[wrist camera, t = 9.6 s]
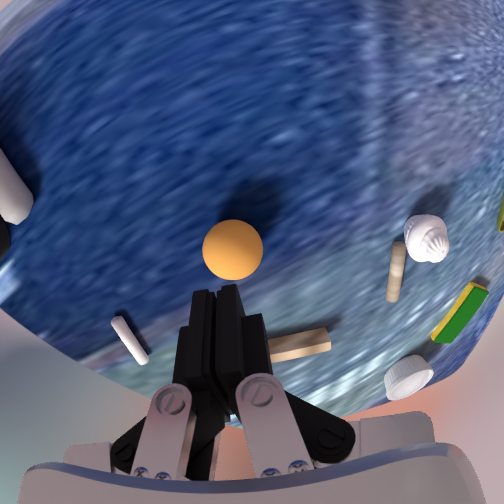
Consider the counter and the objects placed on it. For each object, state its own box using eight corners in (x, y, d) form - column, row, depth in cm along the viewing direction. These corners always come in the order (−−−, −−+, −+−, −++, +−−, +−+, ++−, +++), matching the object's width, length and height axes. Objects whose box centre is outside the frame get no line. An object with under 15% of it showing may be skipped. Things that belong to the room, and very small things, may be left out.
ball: (265, 290, 27) (266, 249, 32) (257, 244, 23) (260, 205, 28) (206, 293, 28) (214, 253, 33) (189, 249, 24) (202, 210, 29)
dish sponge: (483, 285, 41) (489, 292, 38) (446, 336, 47) (451, 343, 45) (468, 279, 39) (475, 287, 37) (428, 334, 45) (433, 343, 43)
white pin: (108, 324, 34) (136, 363, 39) (117, 326, 34) (145, 365, 38) (115, 314, 36) (141, 354, 41) (125, 316, 35) (151, 356, 40)
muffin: (386, 239, 32) (414, 271, 26) (408, 197, 30) (441, 222, 24) (416, 251, 34) (443, 280, 28) (437, 213, 31) (469, 238, 25)
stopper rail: (325, 326, 39) (330, 341, 37) (325, 335, 40) (330, 349, 38) (206, 349, 40) (206, 365, 37) (210, 357, 41) (210, 372, 38)
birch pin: (405, 240, 32) (397, 292, 37) (390, 240, 33) (385, 293, 38) (408, 248, 31) (399, 302, 35) (393, 249, 31) (386, 302, 36)
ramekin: (426, 363, 51) (435, 380, 46) (386, 387, 54) (393, 405, 49) (420, 342, 46) (432, 362, 41) (374, 371, 49) (382, 391, 44)
